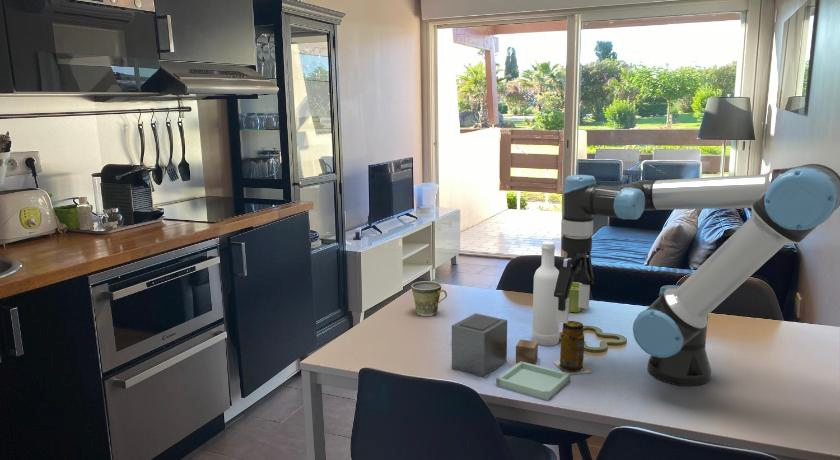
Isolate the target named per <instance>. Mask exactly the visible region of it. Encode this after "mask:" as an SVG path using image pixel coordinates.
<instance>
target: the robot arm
mask: <svg viewBox="0 0 840 460" xmlns="http://www.w3.org/2000/svg"><path fill="white" fill-rule="evenodd" d="M563 188H564V189H563V216H562V221H561V225H562V235H563V236H561V250H562V251H564V252H566V258H563V257H561V259H560V267H559V269H558V270H559V275H558V279H557V283H556V287H555V292H554V297H558V308H557V321H558V322H560V323H568V321H569V314H570V312H569V298H567V297H568V294H569V291H570V288H571V285H572V282H574V279H575V277H576V276H577V275H578V279H579V281H580V283H582V284H579V299H578V307H580V308H581V309H586V310H588V309H589V307H590V294H591V293H590V292H591V291H590V290H591V285H592V286H593V285H594V284H595V282H594V281H595V280H594V279H595V276H594V271H593V270H594V269H593V264H592V258H591V251H592V250H593V249H592V248H593V238H592V236H593V234H594V216H601V217H609V218H615V219H621V220H638V219H639V218H640V217H641V216H642V214H643V213H644V211H660V210H663V211H664V210H666V211H667V210H706V209H707V210H709V209H710V210H711V209H712V210H713V209H714V210H715V209H716V210H717V209H751V216H750V217H749V218H748V219H747V220H746V221H745V222H743V224H742V225H741V226H740V227H739V228H738V229H736V231H734V232H733V234H732V235H731V236H730V237H729V238H728V239H727V240H725V241H724V242H723V243H722V244H721V245H720V246H719V247H718V248H717V249H716V250H715V251H714V252H713V253H712V254H711V255H710V256H709V257H708V258H707V259H706V260H705V261H704V262H703V263H702V264H701V265H700V266H699V267H698V268H697V269H695V271H694V272H693V273H692V274H691V275H689V276H688V278H686V279H685V280H684V282H682V283H681V285H675V284H672V285H671V284H668V285H663V286H661V287H660V289H659V293H658V296H659V297H657V299H656V300H654V301H653V303H651V305H649V306H648V307H647V308H646V309H645V310H643V311H641V312H640V313H638V314H637V316H636V318H635V319H634V321H633V324H632V332H633V338H634V339H635V342H636V344H637V345H638V346H639V348H640V349H641V350H642V351H644V352H645V353H647V354H648V355H649V358H648V361H647V372H648V373H649V374H650V375H651V376H652V377H653V376H654V377H653V378H655V379H657V380H660V381H662V382H664V381H665V383H668V384H671V385H677V384H679V385H678V386H685V385H694V386H699V384H701V385H704V384H703V383H705V384H706V382H707V383H708V382H709V381H711V373H712V369H711V368H712V367H711V364H710V362H709V361H710V360H709V357H708V353H707V349H706V342H707V331H708V321H709V320H708V319H709V315H710V313H712V311H713V310H715V309H716V308H717V307H718V306H719V305H721V304H722V302H723V301H725V300H726V299H727V298H728V297H730V295H731V294H732V293H734V292H735V291H736V290H737V289H738V288H739V287H740V286H741V285H742V284H744V283H745V282H747V280H749V278H750V277H752V275H753V274H755V273H756V272H757V271H758V270H759V269H760V268H761V267H762V266H763V265H764V264H765V263H767V261H769V260H770V259H771V258H772V257H773V256H775V254H776V253H778V251H780V250H781V249H782V248H783V247H784V246H785V245H786V244H799V243H801V241H803V240H804V239H805V238H807V236H809V235H810V234H811V233H812V232H813V231H815V229H816V228H817V227H818V226H820V225H822V224H823V223H824V222H826V221H827V220H828V219H829V218H830V217H832V215H833V213H834V212H835V211H836V210H837V209H838V208H839V207H840V174H839V173H838V172H837V171H835V169H832V168H831V167H829V166H827V165H825V164H824V165H823V164H819V163H807V164H803V165H799V166H794V167H793V166H792V167H788V168H785V167H784V168H776V169H775V168H773V169H771V171H769V173H765V174H763V173H762V174H751V175H750V174H748V175H747V174H746V175H729V176H712V177H710V176H708V177H696V178H692V177H691V178H676V179H673V178H672V179H660V180H659V179H657V180H648V179H647V180H645V179H639V180H634V181H632V182H629V183H624V184H621V185H617V186H613V185H601V184H597V182H596V178H595V176H593V175H590V174H589V175H588V174H571V175H568V176H566V178H565V180H564V187H563ZM673 383H674V384H673Z"/></svg>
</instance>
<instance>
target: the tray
mask: <svg viewBox="0 0 840 460" xmlns="http://www.w3.org/2000/svg"><path fill="white" fill-rule="evenodd" d="M570 382H571V374H568V373H565V372H563V371H562V370H557V369H553V368H552V369H551V368H548V367H544V366H540V365H538V364H534V365H533V364H530V363H526V362H522V361H520V362H519V363H515V364H514V365H513V366H512V367H510V368H509V369H507V370H506V371H505V372H503V373H502V374H500V375H498V377H496V379H495V386H496V387H499V388H502V389H504V390H509V391H512V392H517V393H519V394H523V395H527V396H530V397H532V398H537V399H539V400H543V401H546V402H547V401H548V402H549V400H551V399H552V398H553V397H554V396H555V395H556V394H558V392H560V391H561V390H562V389H563V388H564V387H565V386H566V385H568V384H569V383H570Z"/></svg>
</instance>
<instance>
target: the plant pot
mask: <svg viewBox="0 0 840 460" xmlns="http://www.w3.org/2000/svg"><path fill="white" fill-rule="evenodd" d="M579 284H583V283H581V282H578V281H577V282H575V281H573V282H572V285H571V288H570V291H569V294H568V297H567V298H569V313H577V314H578V313H580V312H581V311H582V308H580V307H578V299H579Z"/></svg>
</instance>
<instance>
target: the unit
mask: <svg viewBox="0 0 840 460" xmlns="http://www.w3.org/2000/svg"><path fill="white" fill-rule="evenodd" d="M451 341H452V342H451V369H453V370H457V371H460V372H464V373H467V374H471V375H474V376H477V377H482V378H486V377H487V376H488V375H490V374H492V373H493V372H494V371H496V370H497V369H498V368H500V367H502V366H503V365H504V364H506V363H507V362H508V361H507V358H508V357H507V355H508V351H507V350H508V319H503V318H499V317H495V316H491V315H484V314H481V313H474V314H472V315H470V316H467V317H466V318H464V319H462V320H460V321H458V322H456V323H455V324H452V325H451Z"/></svg>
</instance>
